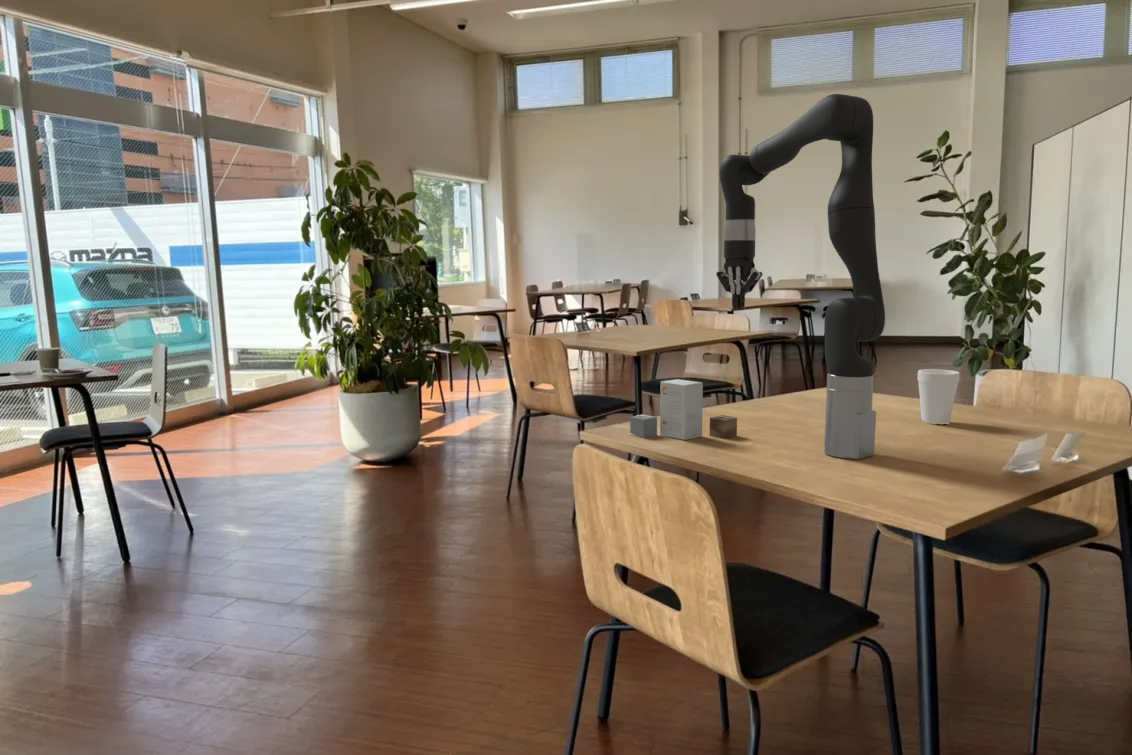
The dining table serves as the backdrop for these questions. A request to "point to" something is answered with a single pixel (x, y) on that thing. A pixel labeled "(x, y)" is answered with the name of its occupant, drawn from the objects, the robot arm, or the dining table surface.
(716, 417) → the walnut block one
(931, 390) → the foam cup
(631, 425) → the slate block seven
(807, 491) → the dining table surface
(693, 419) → the small box
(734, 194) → the robot arm
